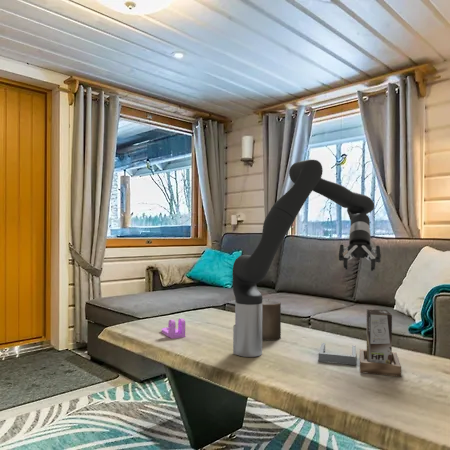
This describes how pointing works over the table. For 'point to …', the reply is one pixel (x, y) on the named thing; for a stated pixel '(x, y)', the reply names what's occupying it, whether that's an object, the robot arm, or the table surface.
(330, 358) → the bay
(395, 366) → the tray
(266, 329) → the pillar candle
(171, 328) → the bracket
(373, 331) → the coffee box
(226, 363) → the table surface
